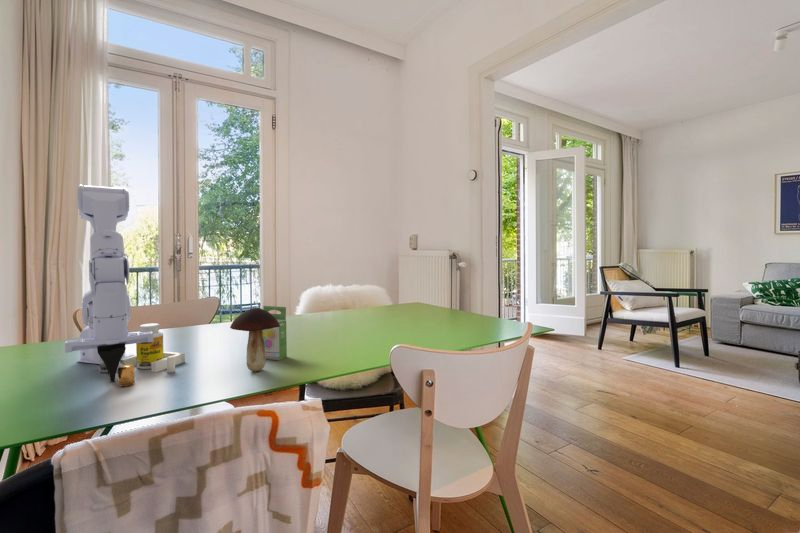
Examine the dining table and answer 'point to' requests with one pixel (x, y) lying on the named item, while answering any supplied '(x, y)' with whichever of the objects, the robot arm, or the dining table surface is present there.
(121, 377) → the gold-tipped lever
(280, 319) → the ink box
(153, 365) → the socket
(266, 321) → the decorative mushroom
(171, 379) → the dining table surface
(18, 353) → the dining table surface
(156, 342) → the supplement bottle
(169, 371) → the post
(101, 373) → the mount
